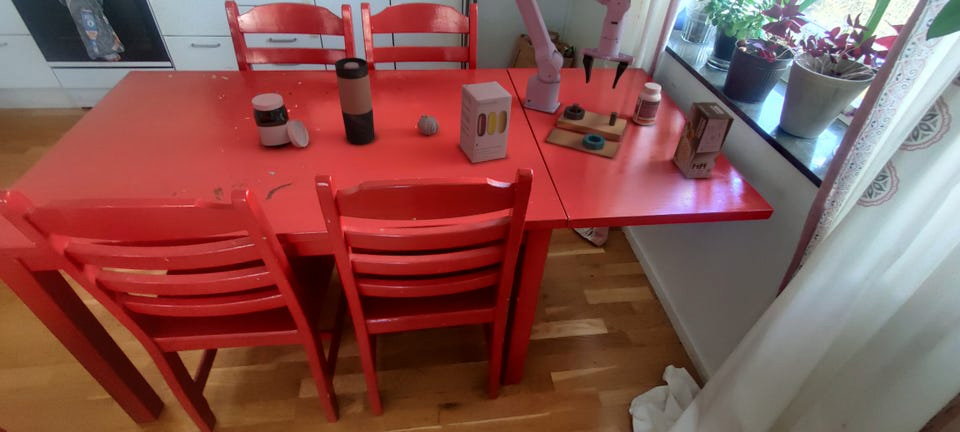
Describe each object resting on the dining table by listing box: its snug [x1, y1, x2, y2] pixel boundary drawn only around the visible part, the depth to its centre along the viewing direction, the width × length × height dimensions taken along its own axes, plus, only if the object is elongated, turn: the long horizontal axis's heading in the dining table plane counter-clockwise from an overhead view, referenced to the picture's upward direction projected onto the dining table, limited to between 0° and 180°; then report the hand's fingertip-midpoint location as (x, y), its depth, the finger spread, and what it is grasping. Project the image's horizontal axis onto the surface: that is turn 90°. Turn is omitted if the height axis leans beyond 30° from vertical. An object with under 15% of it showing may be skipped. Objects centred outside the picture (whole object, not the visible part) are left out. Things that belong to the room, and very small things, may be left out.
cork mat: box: [545, 128, 619, 159], centre depth 124 cm, size 18×8×1 cm, turn 66°
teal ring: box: [582, 133, 607, 150], centre depth 122 cm, size 6×6×2 cm
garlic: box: [417, 114, 440, 136], centre depth 123 cm, size 6×5×5 cm
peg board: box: [555, 102, 628, 142], centre depth 130 cm, size 18×10×6 cm, turn 66°
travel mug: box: [334, 57, 375, 146], centre depth 114 cm, size 8×8×20 cm
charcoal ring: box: [563, 105, 586, 121], centre depth 132 cm, size 6×6×2 cm
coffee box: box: [672, 101, 735, 179], centre depth 112 cm, size 9×6×16 cm
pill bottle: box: [632, 82, 662, 126], centre depth 133 cm, size 6×6×11 cm
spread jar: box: [251, 92, 310, 150], centre depth 113 cm, size 12×11×12 cm
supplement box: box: [459, 80, 513, 164], centre depth 113 cm, size 10×9×17 cm
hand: (600, 84), depth 132 cm, fingers open, 7 cm apart
